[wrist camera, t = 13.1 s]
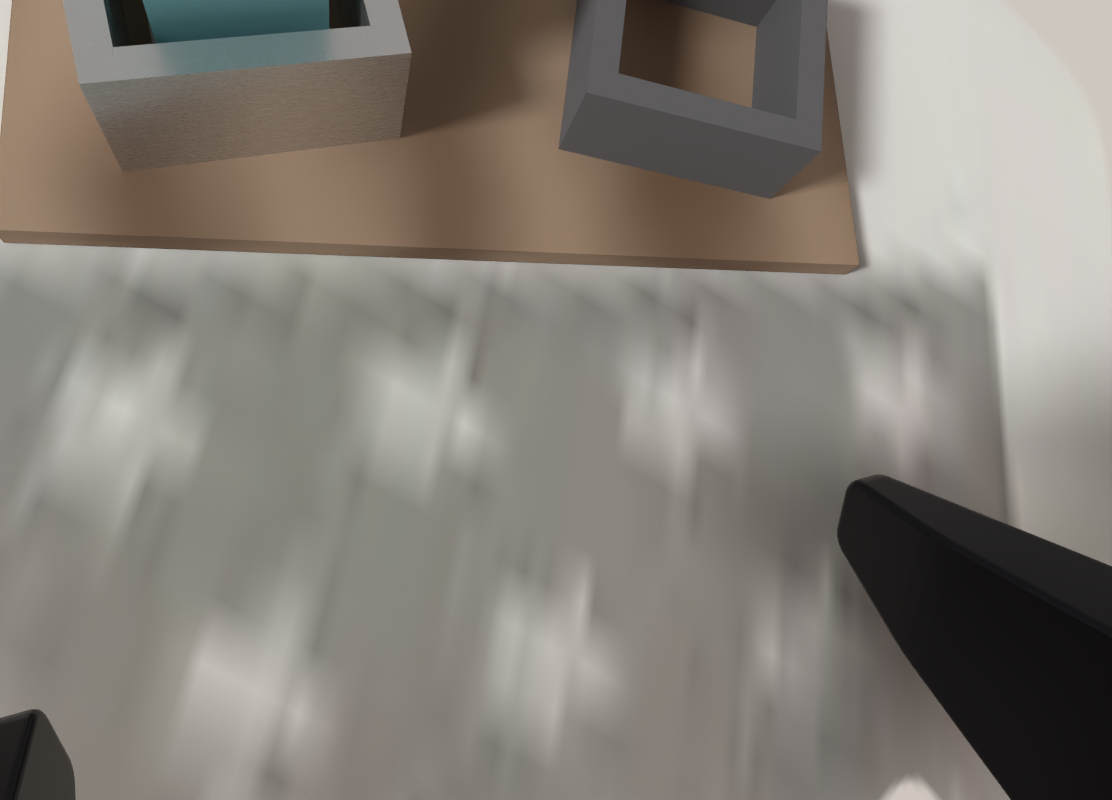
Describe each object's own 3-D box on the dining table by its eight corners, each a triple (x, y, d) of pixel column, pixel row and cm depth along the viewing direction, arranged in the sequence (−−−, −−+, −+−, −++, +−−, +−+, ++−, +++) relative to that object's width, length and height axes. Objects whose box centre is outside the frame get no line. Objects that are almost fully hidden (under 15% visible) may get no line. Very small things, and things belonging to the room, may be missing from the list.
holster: (769, 199, 27) (821, 151, 24) (558, 149, 25) (586, 92, 23) (780, 12, 29) (829, -53, 26) (582, -44, 27) (611, -119, 24)
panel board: (801, -49, 30) (813, -66, 30) (845, 274, 28) (859, 265, 27) (37, -157, 24) (27, -181, 24) (4, 242, 22) (-8, 229, 21)
